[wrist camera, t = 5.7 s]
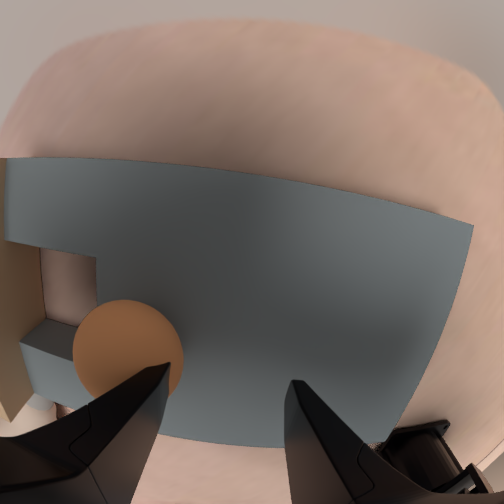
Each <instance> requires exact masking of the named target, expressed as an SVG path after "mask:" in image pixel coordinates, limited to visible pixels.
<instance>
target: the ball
mask: <svg viewBox="0 0 504 504" xmlns="http://www.w3.org/2000/svg"><path fill="white" fill-rule="evenodd" d="M73 362H74V366H75V370H76V372H77V375H78V377H79V379H80V381H81V383H82V384H83V386H84V387H85V389H86V390H87V391H88V392H89V393H90V394H91V395H92V396H93V397H94V398H95V399H96V398H98V397H99V396H101V395H102V394H104V393H106V392H107V391H109V390H111V389H112V388H114V387H115V386H117V385H119V384H120V383H122V382H124V381H125V380H127V379H128V378H130V377H131V376H133V375H135V374H136V373H138V372H139V371H141V370H143V369H144V368H146V367H149V366H156V365H160V364H164V363H166V362H171V368H170V376H169V395H168V397H169V396H170V395H171V394H172V393H173V392H174V390H175V389H176V387H177V385H178V383H179V381H180V379H181V375H182V371H183V363H184V356H183V349H182V345H181V342H180V339H179V336H178V334H177V332H176V331H175V329H174V327H173V326H172V324H171V323H170V322H169V321H168V320H167V319H166V317H165V316H164V315H162V314H161V313H160V312H159V311H157V310H156V309H154V308H153V307H151V306H149V305H147V304H144V303H141V302H138V301H132V300H115V301H110V302H107V303H104V304H102V305H100V306H98V307H97V308H95V309H93V310H92V311H91V312H90V313H89V314H88V315H87V316H86V317H85V318H84V319H83V321H82V322H81V324H80V325H79V327H78V329H77V332H76V334H75V338H74V342H73Z"/></svg>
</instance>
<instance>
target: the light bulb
mask: <svg viewBox="0 0 504 504" xmlns="http://www.w3.org/2000/svg"><path fill="white" fill-rule="evenodd" d="M56 420H57V418H56V405H55V403H54V401H51V400H49V399H47V398H44V397H42V396H40V395H37V394H35V393H34V394H33V395H32V396H31V398H30V399H29V400H28V401H27V403H26V404H25V405H24V407H23V408H22V409H21V410H20V412H19V413H18V414H17V416H16V417H15V418H14V420H13V421H12V422H11V423H10V422H8V421H6V420H4V419H3V418H1V417H0V436H1V437H13V436H18V435H21V434H24V433H26V432H29V431H32V430H34V429H37V428H39V427H41V426H44V425H46V424H49V423H51V422H53V421H56Z"/></svg>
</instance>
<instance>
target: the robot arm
mask: <svg viewBox="0 0 504 504" xmlns="http://www.w3.org/2000/svg"><path fill="white" fill-rule="evenodd" d="M170 368H171V362H166V363H164V364H160V365H156V366H149V367H146V368H144V369H143V370H141V371H139V372H138V373H136V374H135V375H133V376H131V377H130V378H128V379H127V380H125V381H124V382H122V383H120V384H119V385H117V386H115V387H114V388H112V389H111V390H109V391H107V392H106V393H104V394H102V395H101V396H99V397H98V398H96V399H94V400H93V401H91V402H89V403H88V405H87V404H86V405H84V406H82V407H81V408H79V409H77V410H75V411H74V412H72V413H70V414H68V415H66V416H64V417H62V418H60V419H58V420H56V421H53V422H51V423H49V424H46V425H44V426H41V427H39V428H37V429H34V430H32V431H29V432H26V433H24V434H21V435H18V436H13V437H1V436H0V504H130V503H131V501H132V498H133V495H134V493H135V490H136V487H137V485H138V482H139V480H140V477H141V474H142V472H143V469H144V467H145V464H146V462H147V459H148V456H149V454H150V451H151V449H152V446H153V444H154V441H155V439H156V436H157V434H158V431H159V429H160V426H161V423H162V419H163V415H164V411H165V407H166V403H167V399H168V395H169V376H170ZM449 426H450V423H449V421H448V420H445V421H441V422H436V423H432V424H427V425H422V426H416V427H411V428H405V429H398V430H394V431H392V432H391V433H390V435H389V436H388V438H387V439H386V441H385V442H383V444H382V445H381V447H380V448H379V450H378V451H377V453H375V452H374V451H373V450H372V449H371V448H370V447H369V446H368V445H367V444H366V443H364V441H363V440H362V439H361V438H360V437H359V436H358V435H357V434H356V433H355V432H354V431H353V430H352V429H351V428H350V427H349V426H348V425H347V424H346V423H345V422H344V421H343V420H342V419H341V418H340V417H339V416H338V415H337V414H336V413H335V412H334V411H333V410H332V409H331V408H330V407H329V406H328V405H327V404H326V403H325V402H324V401H323V400H322V399H321V398H320V397H319V396H318V395H317V394H316V392H315V391H314V390H313V389H312V388H311V387H310V386H309V385H308V384H307V383H306V382H305V381H304V380H296V379H293V380H291V381H290V384H289V387H288V390H287V393H286V396H285V401H284V445H285V453H286V461H287V469H288V477H289V484H290V492H291V500H292V504H504V491H501V492H496V493H494V491H493V489H492V487H491V486H490V484H489V483H488V481H487V480H486V478H485V477H484V475H483V474H482V472H481V471H480V470H479V469H478V468H477V467H476V466H475V465H474V464H472V463H471V464H469V465H468V466H467V467H466V469H465V470H463V469H462V467H461V466H460V464H459V462H458V461H457V459H456V458H455V456H454V454H453V453H452V451H451V450H450V448H449V447H448V445H447V443H446V442H445V440H444V439H443V437H442V436H443V435H444V433H445V432H446V430H447V429H448V428H449ZM474 484H475V485H476V487H475V488H473V489H472V490H471V491H469V490H468V488H470V487H471V486H472V485H474Z"/></svg>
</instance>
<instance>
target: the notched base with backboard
mask: <svg viewBox="0 0 504 504" xmlns="http://www.w3.org/2000/svg"><path fill="white" fill-rule="evenodd" d="M473 228H474V225H471V224H468V223H465V222H462V221H458V220H455V219H452V218H448V217H445V216H442V215H438V214H435V213H431V212H428V211H424V210H421V209H417V208H413V207H409V206H406V205H402V204H398V203H394V202H390V201H386V200H382V199H378V198H374V197H369V196H365V195H361V194H356V193H352V192H347V191H343V190H338V189H333V188H328V187H323V186H318V185H313V184H308V183H303V182H297V181H292V180H286V179H280V178H274V177H268V176H262V175H256V174H249V173H242V172H235V171H228V170H220V169H213V168H204V167H196V166H187V165H177V164H167V163H156V162H144V161H131V160H115V159H94V158H51V157H39V158H0V417H1V418H3V419H4V420H6V421H8V422H10V423H11V422H12V421H13V420H14V418H15V417H16V416H17V414H18V413H19V412H20V410H21V409H22V408H23V407H24V405H25V404H26V403H27V401H28V400H29V399H30V398H31V396H32V395H33V394H34V393H35V394H37V395H40V396H42V397H44V398H47V399H49V400H51V401H54V402H56V403H59V404H61V405H64V406H66V407H69V408H72V409H74V410H77V409H79V408H81V407H82V406H84V405H86V404H87V405H88V403H89V402H91V401H93V400H94V399H95V398H94V397H93V396H92V395H91V394H90V393H89V392H88V391H87V390H86V389H85V387H84V386H83V384H82V383H81V381H80V379H79V377H78V375H77V372H76V370H75V366H74V362H73V342H74V338H75V334H76V332H77V329H78V328H77V327H73V326H70V325H66V324H63V323H59V322H56V321H53V320H50V319H47V318H46V314H45V307H44V299H43V291H42V280H41V268H40V249H39V247H41V248H46V249H52V250H57V251H62V252H67V253H73V254H78V255H83V256H89V257H95V258H96V289H97V307H98V306H100V305H102V304H104V303H107V302H110V301H115V300H132V301H138V302H141V303H144V304H147V305H149V306H151V307H153V308H154V309H156V310H157V311H159V312H160V313H161V314H162V315H164V316H165V317H166V319H167V320H168V321H169V322H170V323H171V324H172V326H173V327H174V329H175V331H176V332H177V334H178V336H179V339H180V342H181V345H182V349H183V356H184V363H183V371H182V375H181V379H180V381H179V383H178V385H177V387H176V389H175V390H174V392H173V393H172V394H171V395H170V396H169V397H168V399H167V403H166V407H165V411H164V415H163V419H162V423H161V426H160V429H159V431H158V434H162V435H167V436H172V437H177V438H183V439H189V440H195V441H202V442H209V443H217V444H226V445H236V446H249V447H267V448H285V445H284V401H285V396H286V393H287V390H288V387H289V384H290V381H291V380H293V379H296V380H304V381H305V382H306V383H307V384H308V385H309V386H310V387H311V388H312V389H313V390H314V391H315V392H316V394H317V395H318V396H319V397H320V398H321V399H322V400H323V401H324V402H325V403H326V404H327V405H328V406H329V407H330V408H331V409H332V410H333V411H334V412H335V413H336V414H337V415H338V416H339V417H340V418H341V419H342V420H343V421H344V422H345V423H346V424H347V425H348V426H349V427H350V428H351V429H352V430H353V431H354V432H355V433H356V434H357V435H358V436H359V437H360V438H361V439H362V440H363V441H364V443H366V444H371V443H379V442H385V441H386V439H387V438H388V436H389V435H390V433H391V432H392V430H393V428H394V427H395V425H396V423H397V422H398V420H399V419H400V417H401V415H402V413H403V412H404V410H405V408H406V406H407V405H408V403H409V401H410V399H411V397H412V396H413V394H414V392H415V390H416V388H417V386H418V384H419V382H420V380H421V378H422V376H423V374H424V372H425V370H426V368H427V366H428V364H429V361H430V359H431V357H432V355H433V353H434V350H435V348H436V346H437V343H438V341H439V339H440V336H441V334H442V331H443V329H444V326H445V323H446V321H447V318H448V315H449V313H450V310H451V307H452V304H453V301H454V298H455V295H456V292H457V289H458V286H459V283H460V279H461V276H462V272H463V269H464V265H465V262H466V258H467V254H468V250H469V246H470V241H471V237H472V232H473Z"/></svg>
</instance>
